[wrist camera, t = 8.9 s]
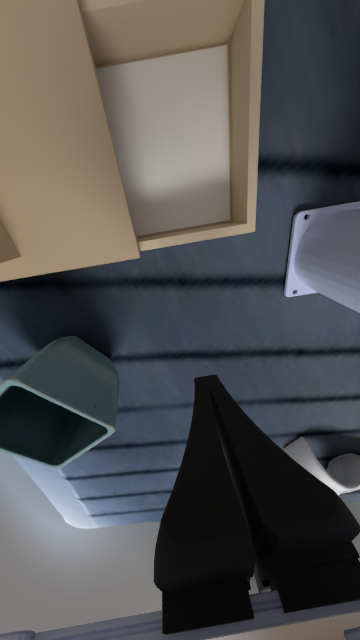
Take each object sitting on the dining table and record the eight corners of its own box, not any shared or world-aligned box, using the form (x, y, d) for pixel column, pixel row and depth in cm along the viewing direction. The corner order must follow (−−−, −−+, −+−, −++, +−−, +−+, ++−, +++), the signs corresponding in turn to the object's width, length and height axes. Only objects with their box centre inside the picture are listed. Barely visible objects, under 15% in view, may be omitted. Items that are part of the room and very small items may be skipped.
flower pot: (89, 394, 26) (57, 472, 18) (26, 359, 22) (-50, 437, 14) (133, 359, 23) (117, 431, 16) (69, 313, 20) (7, 376, 12)
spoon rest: (381, 453, 41) (420, 495, 35) (336, 477, 45) (363, 519, 39) (313, 423, 34) (348, 471, 27) (267, 456, 38) (287, 503, 32)
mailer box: (235, 32, 12) (266, -46, 8) (236, 228, 17) (255, 231, 14) (-18, 78, 12) (-94, 21, 8) (62, 258, 17) (36, 269, 14)
